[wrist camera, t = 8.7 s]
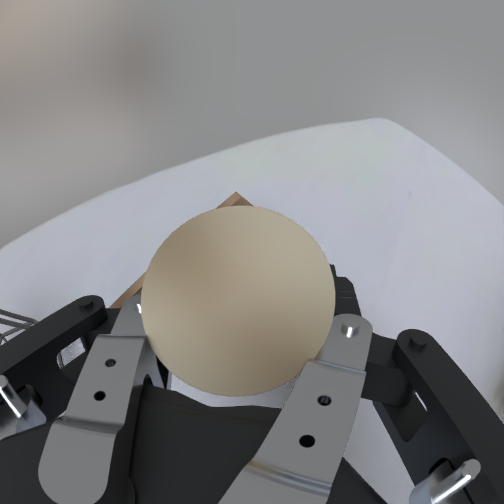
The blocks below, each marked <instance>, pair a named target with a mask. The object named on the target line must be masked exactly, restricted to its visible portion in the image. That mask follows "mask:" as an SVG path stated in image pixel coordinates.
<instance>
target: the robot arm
mask: <svg viewBox="0 0 504 504" xmlns="http://www.w3.org/2000/svg"><path fill="white" fill-rule="evenodd" d="M329 265H330V268H331V272H332V275H333V279H334V286H335V310H334V316H333V321H332V324H331V327H330V331H329V333H328V335H327V338H326V340H325V342H324V344H323V346H322V347H321V349H320V350H319V352H318V354H317V355H316V356H315V358H314V359H313V358H309V359H308V361H307V362H306V364H305V366H304V368H303V370H302V372H301V374H300V376H299V378H298V380H297V382H296V384H295V386H294V388H293V390H292V392H291V394H290V396H289V398H288V399H287V401H286V403H285V405H284V407H283V409H280V408H270V407H261V406H253V405H252V406H234V407H210V406H207V405H205V404H202V403H200V402H198V401H196V400H193V399H191V398H189V397H187V396H185V395H183V394H181V393H179V392H177V391H172V390H170V389H171V380H172V373H171V372H170V371H169V370H168V369H167V368H166V367H165V366H164V364H163V363H162V362H161V361H160V360H159V358H158V357H157V355H156V354H155V352H154V351H153V349H152V347H151V345H150V343H149V341H148V339H147V335H146V333H145V330H144V326H143V321H142V315H141V294H138V295H135V296H132V297H130V298H129V299H127V300H126V301H125V302H124V304H123V306H122V308H105V304H104V301H103V299H102V298H101V297H99V296H96V295H89V296H84V297H81V298H79V299H77V300H75V301H73V302H72V303H70V304H68V305H67V306H65V307H63V308H61V309H60V310H58V311H56V312H55V313H53V314H51V315H50V316H48V317H46V318H45V319H43V320H41V321H40V322H38V323H36V324H35V325H33V326H32V327H30V328H28V329H27V330H25V331H23V332H22V333H20V334H19V335H17V336H15V337H14V338H12V339H11V340H9V341H8V342H6V343H4V344H3V345H1V346H0V504H387V503H386V502H385V501H384V500H383V499H382V498H381V497H380V496H379V495H378V494H377V493H376V492H375V490H374V489H373V488H372V487H371V486H370V485H369V484H368V483H367V482H366V481H365V480H364V479H363V478H362V477H361V476H360V475H359V474H358V473H357V472H356V470H355V469H354V468H353V467H352V466H351V465H350V464H349V463H348V462H347V461H346V460H345V458H344V457H343V453H344V450H345V447H346V444H347V441H348V438H349V435H350V432H351V429H352V425H353V422H354V419H355V415H356V412H357V408H358V404H359V401H360V397H361V398H365V399H369V400H372V401H373V405H374V407H375V409H376V411H377V412H378V414H379V416H380V418H381V420H382V422H383V424H384V426H385V428H386V430H387V432H388V433H389V435H390V437H391V439H392V441H393V443H394V445H395V447H396V449H397V451H398V453H399V455H400V457H401V459H402V461H403V463H404V465H405V467H406V469H407V471H408V473H409V475H410V477H411V479H412V481H413V483H414V485H415V488H414V489H413V490H412V492H411V495H410V498H409V504H504V424H503V423H502V421H501V420H500V419H499V417H498V416H497V415H496V413H495V412H494V411H493V409H492V408H491V407H490V405H489V404H488V403H487V401H486V400H485V399H484V398H483V396H482V395H481V394H480V392H479V391H478V390H477V389H476V387H475V386H474V385H473V384H472V382H471V381H470V380H469V379H468V378H467V376H466V375H465V374H464V373H463V372H462V370H461V369H460V368H459V367H458V366H457V364H456V363H455V362H454V361H453V360H452V359H451V357H450V356H449V355H448V354H447V353H446V352H445V351H444V349H443V348H442V347H441V346H440V345H439V344H438V343H437V341H436V340H435V339H434V338H433V337H432V336H431V335H429V334H428V333H426V332H424V331H421V330H417V329H408V330H404V331H402V332H401V333H400V334H399V335H398V337H397V340H395V339H390V338H386V337H383V336H379V335H377V334H375V333H373V329H372V326H371V324H370V323H369V322H368V321H367V320H366V319H365V318H363V317H362V316H361V312H360V308H359V304H358V301H357V299H356V294H355V290H354V287H353V284H352V283H351V282H350V281H349V280H348V279H347V278H346V277H337V276H336V271H335V266H334V265H331V264H329ZM78 338H80V339H81V342H82V344H83V347H84V349H85V352H84V353H82V354H81V355H79V356H78V357H77V358H75V359H74V360H72V361H71V362H70V363H68V364H67V365H65V366H64V367H63V368H61V369H60V367H59V366H58V364H57V355H58V353H59V352H60V351H61V350H62V349H64V348H65V347H67V346H68V345H70V344H71V343H73V342H74V341H75V340H77V339H78ZM25 385H26V386H25ZM416 392H417V394H418V395H419V397H420V398H421V400H422V401H423V403H424V404H425V406H426V409H427V411H426V410H425V408H424V407H423V405H422V404H421V402H420V400H419V399H418V397H417V396H416V394H415V393H416ZM65 410H66V412H65V414H64V416H61V417H59V418H56V417H58V416H59V415H60V414H62V413H63V412H64V411H65ZM55 418H56V419H55Z"/></svg>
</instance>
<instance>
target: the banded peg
mask: <svg viewBox="0 0 504 504" xmlns="http://www.w3.org/2000/svg"><path fill="white" fill-rule="evenodd" d="M334 310H335V286H334V279H333V275H332V272H331V268H330V265H329V263H328V261H327V259H326V256H325V254H324V253H323V251H322V249H321V248H320V246H319V245H318V243H317V242H316V241H315V240H314V238H313V237H312V236H311V235H310V234H309V233H308V232H307V231H306V230H305V229H304V228H303V227H301V226H300V225H299V224H297V223H296V222H295V221H293V220H292V219H290V218H288V217H286V216H284V215H282V214H280V213H277V212H275V211H272V210H269V209H265V208H261V207H254V206H229V207H222V208H218V209H213V210H211V211H208V212H205V213H202V214H200V215H198V216H196V217H194V218H192V219H190V220H189V221H187V222H186V223H184V224H183V225H181V226H180V227H179V228H178V229H176V230H175V231H174V232H173V233H172V234H171V235H170V236H169V237H168V238H167V239H166V240H165V241H164V242H163V244H162V245H161V246H160V247H159V249H158V250H157V252H156V253H155V255H154V257H153V258H152V260H151V263H150V265H149V267H148V269H147V272H146V275H145V278H144V282H143V287H142V292H141V315H142V321H143V326H144V330H145V333H146V335H147V339H148V341H149V343H150V345H151V347H152V349H153V351H154V352H155V354H156V355H157V357H158V358H159V360H160V361H161V362H162V363H163V364H164V366H165V367H166V368H167V369H168V370H169V371H170V372H171V373H173V374H174V375H175V376H176V377H177V378H179V379H180V380H182V381H183V382H185V383H187V384H188V385H190V386H192V387H194V388H197V389H199V390H201V391H204V392H208V393H211V394H215V395H222V396H249V395H255V394H259V393H263V392H266V391H269V390H272V389H274V388H276V387H278V386H281V385H283V384H285V383H286V382H288V381H289V380H291V379H292V378H294V377H295V376H297V375H298V374H299V373H300V372H301V371H302V370H303V368H304V366H305V364H306V362H307V361H308V359H309V358H313V359H314V358H315V356H316V355H317V354H318V352H319V350H320V349H321V347H322V346H323V344H324V342H325V340H326V338H327V335H328V333H329V331H330V327H331V324H332V321H333V316H334Z"/></svg>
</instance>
